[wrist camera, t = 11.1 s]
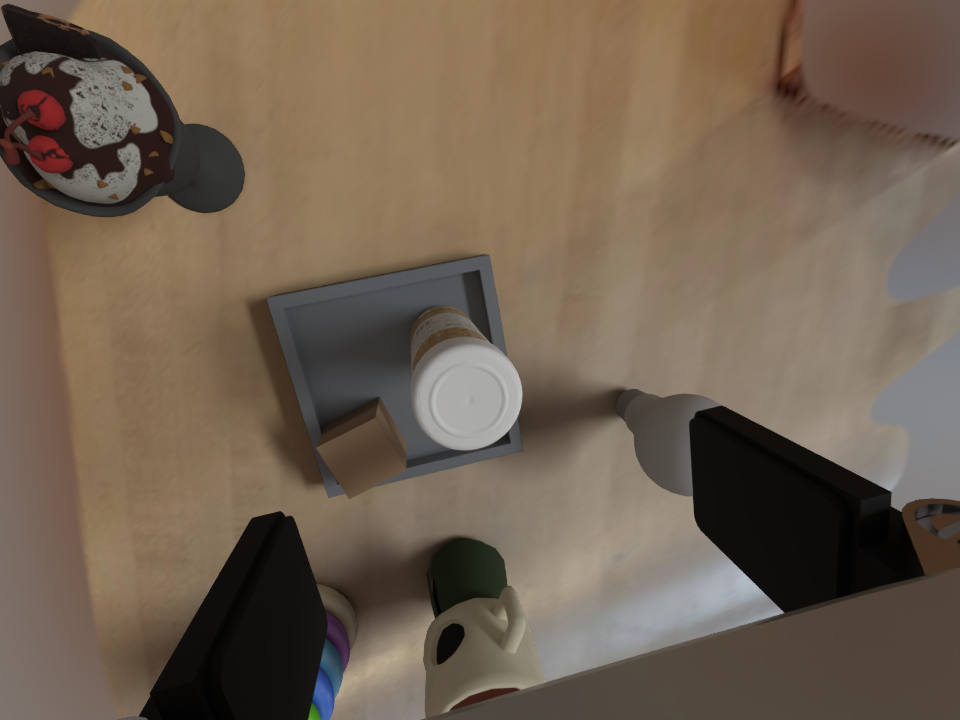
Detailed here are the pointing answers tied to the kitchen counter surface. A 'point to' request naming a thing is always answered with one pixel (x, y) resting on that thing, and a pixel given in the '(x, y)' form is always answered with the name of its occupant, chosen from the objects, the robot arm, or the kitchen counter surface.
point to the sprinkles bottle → (460, 382)
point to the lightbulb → (663, 435)
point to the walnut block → (363, 448)
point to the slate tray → (381, 352)
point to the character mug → (475, 631)
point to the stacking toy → (333, 651)
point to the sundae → (101, 126)
